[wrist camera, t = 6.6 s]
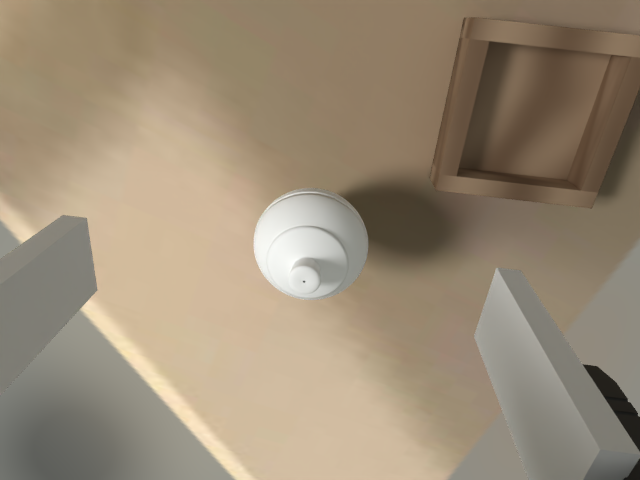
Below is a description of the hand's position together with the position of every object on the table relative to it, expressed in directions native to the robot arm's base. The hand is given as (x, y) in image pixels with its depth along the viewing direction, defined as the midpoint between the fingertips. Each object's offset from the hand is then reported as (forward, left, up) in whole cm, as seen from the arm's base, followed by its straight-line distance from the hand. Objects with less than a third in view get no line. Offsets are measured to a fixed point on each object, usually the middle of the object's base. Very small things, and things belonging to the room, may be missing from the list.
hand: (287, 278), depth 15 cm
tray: (+14, +3, -22) cm, 26 cm away
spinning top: (0, -6, -22) cm, 23 cm away
